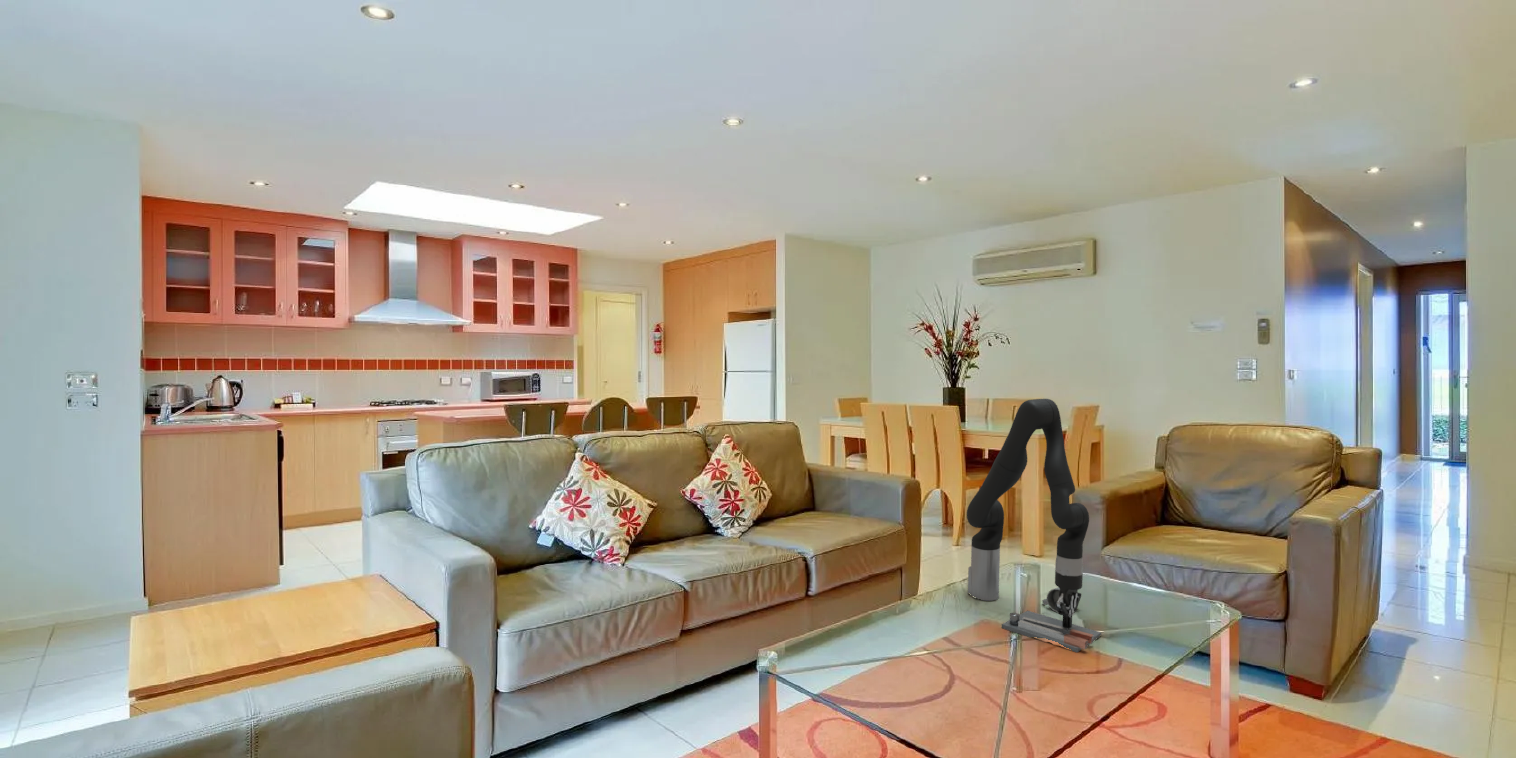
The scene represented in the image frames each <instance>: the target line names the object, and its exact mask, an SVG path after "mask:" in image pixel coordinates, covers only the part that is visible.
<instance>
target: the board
mask: <svg viewBox="0 0 1516 758" xmlns="http://www.w3.org/2000/svg"><path fill="white" fill-rule="evenodd" d="M1019 615H1020V618H1019V621H1020V620H1022V618H1023V617H1027V618H1030V619H1034V620H1038V621H1042V622H1046V623H1049V624H1053V625H1057V626H1061V627H1063V626H1062V624H1063V620H1061V619H1057V618H1053V617H1051V616H1047V615H1044V614H1041V613H1038V612H1037V613H1036V612H1035V611H1034V612H1033V611H1030V610H1026V611H1024V612H1022V613H1019ZM1001 629H1004V630H1007V631H1010V632H1012V633H1015V634H1016V633H1017V634H1019V635H1022V636H1025V637H1028V638H1031V637H1037V638H1046V639H1048V640H1052V641H1055V642H1058V643H1059V644H1061V645H1063V646H1064V647H1066V648H1069V649H1071V650H1072V651H1071V650H1070V651H1071V652H1075V653H1079V652H1080V651H1081V649H1082V648H1079V647H1076V646H1073V645H1070V644H1067V643H1064V642H1061V641H1058V640H1055V639H1051V638H1048V637H1045V636H1042V635H1039V634H1036V633H1033V632H1030V631H1026V630H1023V629H1020V628H1018V626H1013V625H1011V624H1010V619H1009V620H1006V621H1005V622H1003V623H1001ZM1069 629H1074V630H1077V631H1081V632H1085V633H1089V634H1093V635H1094V637H1093V641H1094V640H1095V639H1096V638H1098V637H1099V636H1100V635H1101V636H1102V632H1101V631H1098V630H1094V629H1090V628H1087V627H1084V626H1080V625H1078V624H1074V623H1072V627H1071V628H1069ZM1099 638H1100V637H1099ZM1099 638H1098V639H1099ZM1096 640H1097V639H1096ZM1096 640H1095V641H1096ZM1095 641H1094V642H1095ZM1090 645H1091V644H1090V643H1088V646H1090ZM1082 650H1083V649H1082Z"/></svg>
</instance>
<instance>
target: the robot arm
mask: <svg viewBox="0 0 1516 758" xmlns="http://www.w3.org/2000/svg"><path fill="white" fill-rule="evenodd" d="M1060 414H1061V413H1060V410H1059V407H1058V405H1057V404H1056V402H1055V401H1054V400H1052V399H1049V398H1036V399H1027V400H1025V401H1023V402H1022V403H1021V404H1020V405H1019V407H1018V409H1017V410H1016V414H1015V416H1014V418H1013V422H1012V424H1011V427H1010V429H1009V432H1008V434H1007V436H1006V438H1005V441H1004V442H1003V444H1002V447H1001V449H1000V451H999V452H998V453H997V456H996V458H995V459H994V461H993V463H992V466H991V468H990V470H989V472H988V473H987V475H986V477H985V479H984V481H983V482H982V485H981V486H980V487H979V489H978V491H977V492H976V494H975V495H974V497H972V499H971V500H970V503H969V504H968V505H967V506H968V507H967V509H966V519H967V522H968V524H969V525H970V526H971V527H973V528H976V529H980V530H979V531H978V532H977V533H976V534H974V535H973V536H972V537H971V548H970V549H971V550H970V552H971V553H970V554H971V557H970V560H971V562H970V566H969V567H968V573H967V576H968V577H967V594H968V593H970V594H971V595H972V596H974V597H976V598H978V599H977V600H979V599H981V600H980V601H986V602H991V601H996V600H998V599H999V597H1000V595H999V594H1000V566H1001V565H1000V563H1001V562H1000V561H1001V559H1000V556H1001V543H1002V540H1003V536H1004V524H1005V523H1004V522H1005V513H1004V512H1005V511H1004V507H1003V505H1002V503H1001V502H1000V501H999V498H1001V497H1002V496H1003V495H1005V493H1006V492H1008V491H1009V490H1010V489H1012V487H1014V486H1015V484H1017V483H1018V481H1019V480H1020V478H1021V476H1022V475H1023V473H1024V471H1025V469H1026V467H1027V465H1028V452H1027V446H1028V442H1029V441H1030V439H1031V437H1032V435H1033V434H1034V433H1035V432H1036V430H1042V432H1043V434H1044V438H1045V443H1046V445H1045V446H1046V449H1045V456H1044V457H1045V458H1044V463H1043V464H1044V467H1043V468H1044V475H1045V479H1046V481H1047V485H1048V488H1049V491H1050V513H1051V518H1052V520H1053V522H1054V524H1055V525H1056V527H1058V528H1060V529H1061V530H1065V531H1064V532H1063V533H1062V534H1060V535H1059V536H1058V537H1057V541H1056V557H1055V564H1054V565H1055V566H1054V567H1055V568H1054V570H1055V571H1054V584H1055V586H1056V587H1057V588H1058V587H1059V588H1060V590H1059V600H1058V601H1056V600H1055V601H1054V604H1055V606H1056V609H1057V611H1058V615H1060V616H1062V621H1063V624H1062V626H1063V627H1065V628H1071V627H1072V624H1073V616H1074V613H1076V612H1077V610H1078V606H1079V604H1080V602H1081V597H1082V592H1081V593H1080V592H1078V591H1079V590H1081V589H1082V588H1083V580H1084V579H1083V578H1084V577H1083V576H1084V574H1083V573H1084V562H1083V561H1084V559H1083V552H1084V551H1083V549H1084V547H1083V544H1084V541H1085V538H1086V535H1087V532H1088V528H1089V523H1090V514H1089V510H1088V509H1087V507H1086V506H1085V505H1084V504H1082V503H1079V502H1074V503H1073V502H1072V503H1070V496H1072V495H1073V494H1074V493H1076V486H1075V483H1074V479H1073V476H1072V473H1071V470H1070V466H1069V463H1068V460H1067V454H1066V449H1065V448H1066V447H1065V440H1064V433H1063V426H1062V419H1061V415H1060ZM971 595H970V596H971ZM972 596H971V597H972ZM976 598H975V599H976Z"/></svg>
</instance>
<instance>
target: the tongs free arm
mask: <svg viewBox="0 0 1516 758" xmlns="http://www.w3.org/2000/svg"><path fill="white" fill-rule="evenodd" d="M1022 620H1023V621H1026V622H1029V623H1032V624H1036V625H1039V626H1042V627H1045V628H1049V629H1052V630H1055V631H1058V632H1061V633H1065V634H1069V635H1073V636H1076V637H1079V638H1082V639H1085V640H1088V643H1090V644H1089V645H1092V644H1093V643H1094V642H1093V637H1094V635H1093V634H1089V633H1085V632H1081V631H1077V630H1074V629H1069V628H1065V627H1061V626H1057V625H1053V624H1049V623H1046V622H1042V621H1038V620H1034V619H1030V618H1027V617H1023V618H1022Z"/></svg>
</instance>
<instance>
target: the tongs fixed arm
mask: <svg viewBox="0 0 1516 758" xmlns="http://www.w3.org/2000/svg"><path fill="white" fill-rule="evenodd" d="M1019 618H1020V613H1017V612H1010V613H1009V620H1010V624H1011V625H1013V626H1018V628H1020V629H1023V630H1026V631H1030V632H1033V633H1036V634H1039V635H1042V636H1045V637H1048V638H1051V639H1055V640H1058V641H1061V642H1064V643H1067V644H1070V645H1073V646H1076V647H1079V648H1082V650H1086V649H1087V648H1088V646H1089V645H1088V640H1085V639H1082V638H1079V637H1076V636H1073V635H1069V634H1065V633H1061V632H1058V631H1055V630H1052V629H1049V628H1045V627H1042V626H1039V625H1036V624H1032V623H1029V622H1026V621H1023V620H1020V621H1019Z"/></svg>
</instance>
